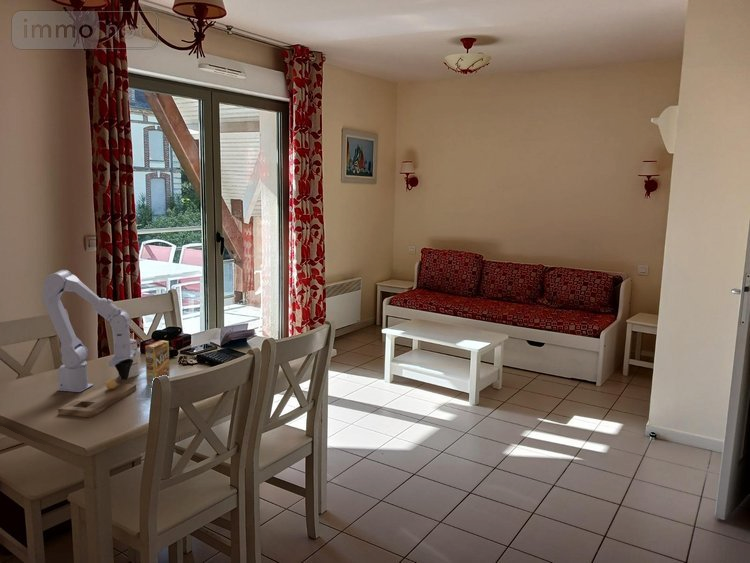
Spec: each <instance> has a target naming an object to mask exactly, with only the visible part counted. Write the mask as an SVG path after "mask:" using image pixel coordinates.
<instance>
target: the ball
mask: <svg viewBox="0 0 750 563" xmlns="http://www.w3.org/2000/svg"><path fill="white" fill-rule="evenodd" d="M105 383H106V387H107V388H108V389H114V388H115V387H116V383H117V382H116V380H114V379H109V380H107V381H106V382H105Z"/></svg>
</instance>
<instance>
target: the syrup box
mask: <svg viewBox="0 0 750 563" xmlns="http://www.w3.org/2000/svg"><path fill="white" fill-rule="evenodd" d="M130 344H131V350H136V353H137V355H136V356H134V358H132V359H133V363H132V365H131V367H130V371H129V376H128V379H130V377H131V378H134V377H136V376H139V375H140V371H139V370H140V367H139V356H138V341H137V339H133V338H130ZM118 377H120V375H119V373H118Z"/></svg>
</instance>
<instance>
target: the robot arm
mask: <svg viewBox="0 0 750 563" xmlns="http://www.w3.org/2000/svg"><path fill="white" fill-rule="evenodd" d="M42 285H43V288H42V294H41V295H42V296H41V300H42V302H43V304H44V306H45V309H46V311H47V313H48V316H49V318H50V321H51V323H52V325H53V328H54V330H55V332H56V334H57V336H58V339H59V341H60V350H59V351H60V354H61V363H62V364H61V365H60V366H59V367H58V370H57V380H58V381H57V382H58V388H57V391H62V392H75V393H81V392H84V391H85V390H87V389H89V388H91V387H93V386H94V385H95V384H94V383H89V379H88V377H89V375H88V364H87V363H88V362H87V360H86V359H87V357H88V356H89V349H88V348H87V347H86V346H85V345H84V344H83V342H82V340H81V339H80V338H78V337H77V336H76V334H75V333H76V332H75V331H74V329H73V326H72V324H71V322H70V318H69V316H68V314H67V311H66V310H65V309H66V308H65V307H64V305H63V303H62V302H63V301H62V300H61V297H62V295H63V293H64V292H72V293H75V294H77V295H78V296H79V297H81V298H82V299H84V300H85V301H87V302H88V303H90V304H91V305H93V310H94V311H95V312H96V313H97V314H98V315H100V316H101V317H102V318H104V319H105V320H106V321H108V322H109V325H110V327H111V328H112V339H113V340H112V341H113V354H114V355H113V357H111V359H109V360H108V366H109V367H112V368H113V367H115V369H116V370H117V372H118V373H119V374H118V376H119V375H120V376H119V377H120V380H121V381H122V380H123V381H127V380H128V379H129V378H128V376H129V371H130V367H131V365H132V363H133V359H132V358H134V356H136V355H137V353H136V350H131V344H130V339H131V332H130V331H131V330H130V325H129V324H130V323H131V320H132V317H131V314H130V313H129V312H128V311H127V310H123V309H122V308H120V307H119V308H118V307H117V306H116V305H115V304H114V303H112V300H111V299H110V298H108V299H107V298H105V297H103V298H101V297H99V295H97V294H96V293H95V292H94V291H93V290H91V289H90V288H89V287H88V286H87V285H86V284H85V283H83V282H82V281H81V280H80V279H79V278H78V276H76V275H75V274H72V272H71V271H69V270H67V269H60V270H58V271H56V272H54V273H51V274H48V275H47V276H46V277H45V279H44V280H43V282H42Z"/></svg>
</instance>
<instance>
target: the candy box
mask: <svg viewBox="0 0 750 563" xmlns="http://www.w3.org/2000/svg"><path fill="white" fill-rule="evenodd" d="M169 342H170V341H169V340H163V339H159V340H158V341H155V342H152V343H150V344H146V345H145V369H146V370H145V373H146V376H145V377H146V385H150V386H152V385H151V384H152V381H153V378H155V377H159V376H162V375H167V376H169V377H171V376H170V348H169V347H170V344H169Z"/></svg>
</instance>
